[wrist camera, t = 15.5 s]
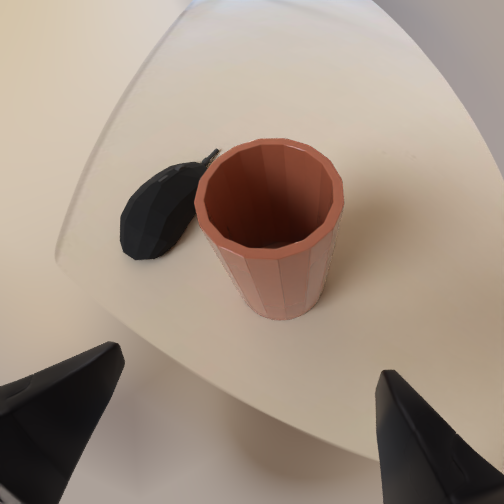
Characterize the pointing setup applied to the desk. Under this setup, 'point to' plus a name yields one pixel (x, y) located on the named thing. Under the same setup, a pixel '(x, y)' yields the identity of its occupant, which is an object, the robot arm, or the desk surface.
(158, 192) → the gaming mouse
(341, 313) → the desk surface
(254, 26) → the desk surface
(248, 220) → the pen cup
